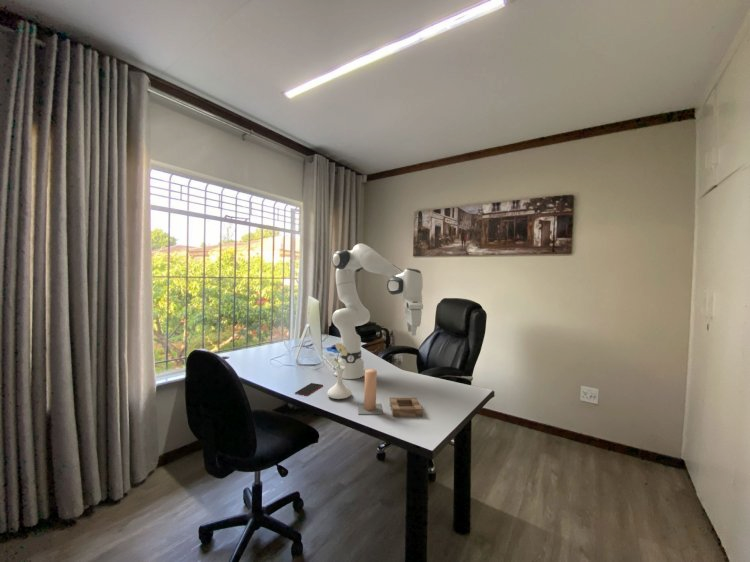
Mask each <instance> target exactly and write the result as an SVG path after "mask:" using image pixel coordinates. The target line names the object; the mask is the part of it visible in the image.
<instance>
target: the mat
mask: <svg viewBox="0 0 750 562" xmlns="http://www.w3.org/2000/svg"><path fill="white" fill-rule="evenodd" d="M357 404H358V407H357V409H358V410H357V411H358V413H357V414H358V416H361V415H362V416H368V415H369V416H373V415H374V414H381V416H382V415H383V414H384V412H383V408H382V403H376V409H375V410H374V411H367V410H365V409H364V403H357ZM370 414H371V415H370Z"/></svg>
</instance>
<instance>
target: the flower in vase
mask: <svg viewBox="0 0 750 562" xmlns="http://www.w3.org/2000/svg"><path fill="white" fill-rule="evenodd" d="M334 345H335V349H336V351H338V353H337V356H336V357H334V359H333V361H335V362H336V364H337V363H338V361H339V359H338V358H339V355H340V354H342V355H344V356H346V355H347V353H348V352H347V350H346V347H344V346H343V345H342V343H340V342H338V341H337V342H336V343H335V344H334ZM343 362H344V361H343ZM341 363H342V362H341ZM341 363H338V364H337V366H335V367H334V369H335V370H336V371H337V376H336V377H337V380H336V383H335V384H334V385H333V386H331V387H330V388H329V389H328V390H327V393H326V394H327V396H328V397H330V398H331V399H334V400H335V399H336V400H344V399H348V398H349V397H350V396H351V395H352V390H351V388H349V387H348V386H347V385H346V384H344V382H343V378H342V374H343V371H344V369H345V367H344V366H338V365H339V364H341ZM336 371H335V372H336Z"/></svg>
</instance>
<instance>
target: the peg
mask: <svg viewBox="0 0 750 562" xmlns="http://www.w3.org/2000/svg"><path fill="white" fill-rule="evenodd" d="M364 371H365V376H364V392H363V393H364V399H363V404H364V409H365V410H367V411H374V410H375V409H376V404H377V375H378V374H377V370H376V369H371V368H370V369H364Z"/></svg>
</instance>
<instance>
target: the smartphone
mask: <svg viewBox="0 0 750 562" xmlns="http://www.w3.org/2000/svg"><path fill="white" fill-rule="evenodd" d="M322 386H323V387H324V385H323V384H320V383H314V382H311V383H309V384H306V385H305V386H304V387H302V388H300V389H299V390H297V391H295V392H294V394H295V395H297V394H298V395H299V396H303V395H304V396H303V397H309V396H311V395H312V394H313V393H314V392H315V393H316V392H317V391H318V390H319V389H321V388H322ZM311 393H312V394H311Z"/></svg>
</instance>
